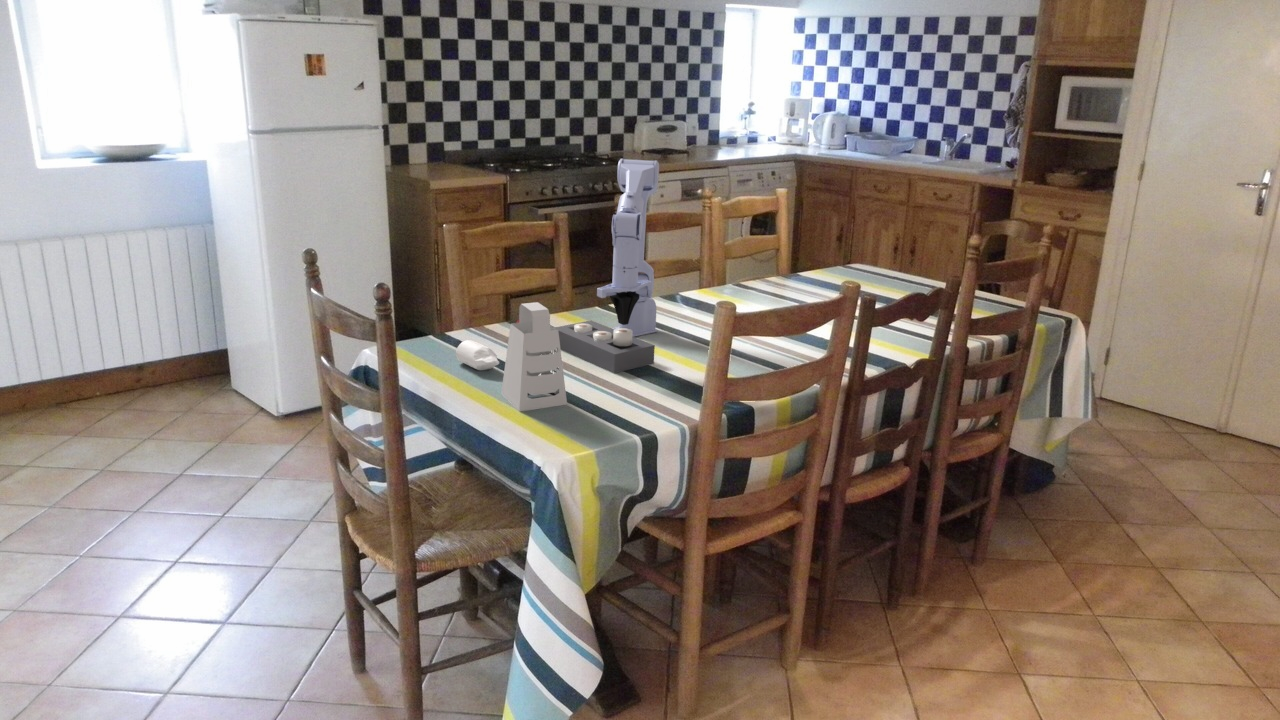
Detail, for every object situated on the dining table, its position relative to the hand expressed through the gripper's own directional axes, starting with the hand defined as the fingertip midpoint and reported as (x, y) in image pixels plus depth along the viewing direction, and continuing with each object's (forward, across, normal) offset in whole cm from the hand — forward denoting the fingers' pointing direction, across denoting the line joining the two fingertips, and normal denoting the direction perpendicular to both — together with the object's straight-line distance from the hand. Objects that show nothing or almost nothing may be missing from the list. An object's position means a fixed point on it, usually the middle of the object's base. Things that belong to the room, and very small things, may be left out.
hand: (623, 323), depth 216 cm
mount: (+10, 0, +8) cm, 12 cm away
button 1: (+7, 0, +15) cm, 17 cm away
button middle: (+7, 0, +7) cm, 11 cm away
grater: (+10, -30, -8) cm, 32 cm away
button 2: (+5, 0, 0) cm, 5 cm away
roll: (+10, -29, +14) cm, 34 cm away
